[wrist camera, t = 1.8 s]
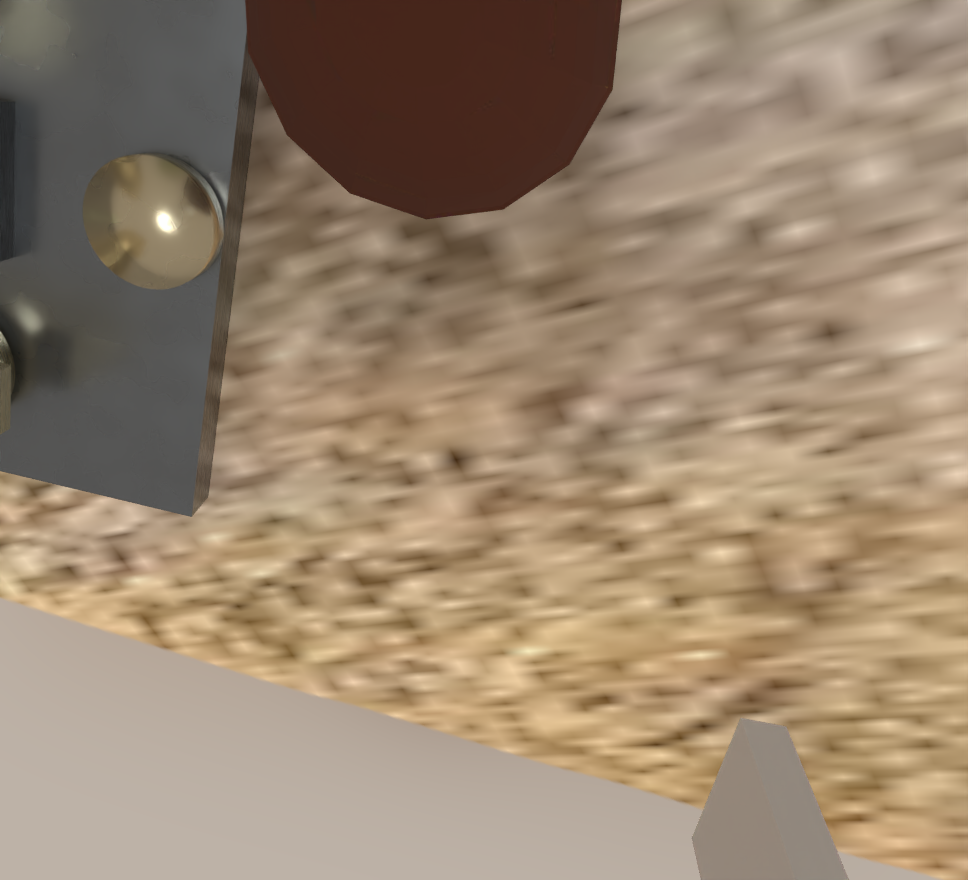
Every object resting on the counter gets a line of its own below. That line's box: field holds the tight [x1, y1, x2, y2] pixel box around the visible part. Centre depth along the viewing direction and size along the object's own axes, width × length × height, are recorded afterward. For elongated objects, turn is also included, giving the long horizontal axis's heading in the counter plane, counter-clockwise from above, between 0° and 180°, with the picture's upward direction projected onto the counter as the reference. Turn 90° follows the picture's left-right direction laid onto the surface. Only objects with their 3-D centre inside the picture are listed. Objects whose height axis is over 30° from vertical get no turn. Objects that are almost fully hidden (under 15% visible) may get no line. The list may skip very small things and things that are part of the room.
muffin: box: [245, 0, 622, 219], centre depth 26 cm, size 12×11×10 cm
